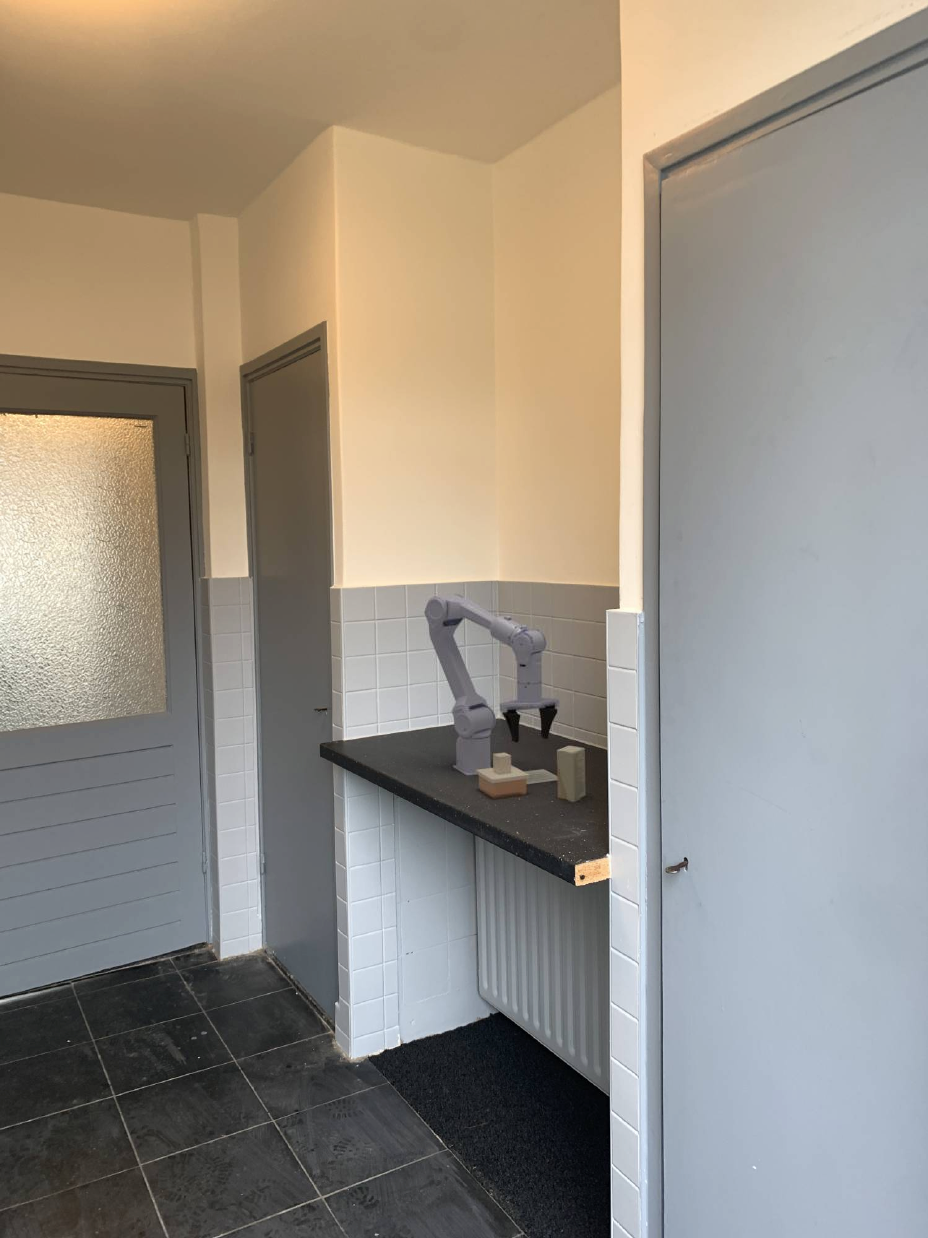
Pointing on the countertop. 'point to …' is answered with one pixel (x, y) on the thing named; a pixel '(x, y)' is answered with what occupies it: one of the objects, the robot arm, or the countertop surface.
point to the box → (571, 773)
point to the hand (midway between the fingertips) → (530, 739)
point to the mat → (540, 776)
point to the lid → (502, 770)
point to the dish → (502, 788)
